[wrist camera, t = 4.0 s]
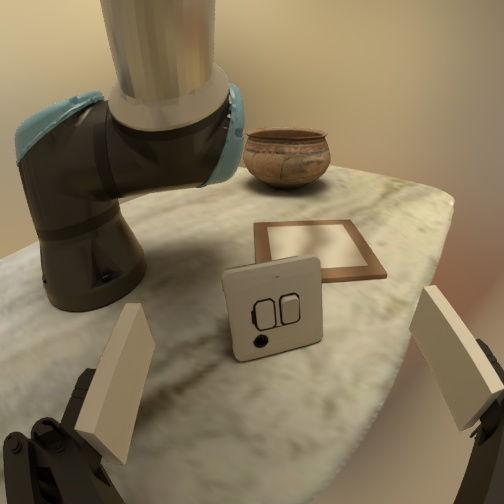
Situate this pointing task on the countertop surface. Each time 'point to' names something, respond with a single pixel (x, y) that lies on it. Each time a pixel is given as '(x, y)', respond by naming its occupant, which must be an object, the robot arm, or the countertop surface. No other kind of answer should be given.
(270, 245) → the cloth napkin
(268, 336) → the electrical switch
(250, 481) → the countertop surface
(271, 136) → the cooking pot
